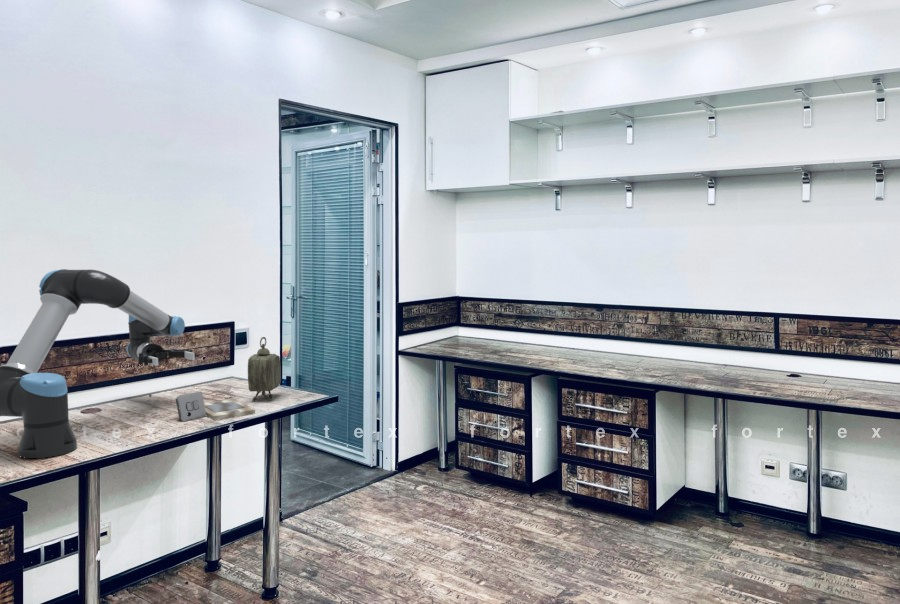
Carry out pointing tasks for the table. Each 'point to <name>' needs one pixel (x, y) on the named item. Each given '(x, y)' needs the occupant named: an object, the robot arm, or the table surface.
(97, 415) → the table surface
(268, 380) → the tabletop clock
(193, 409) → the electrical switch
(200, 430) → the table surface
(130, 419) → the table surface
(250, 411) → the mounting board
